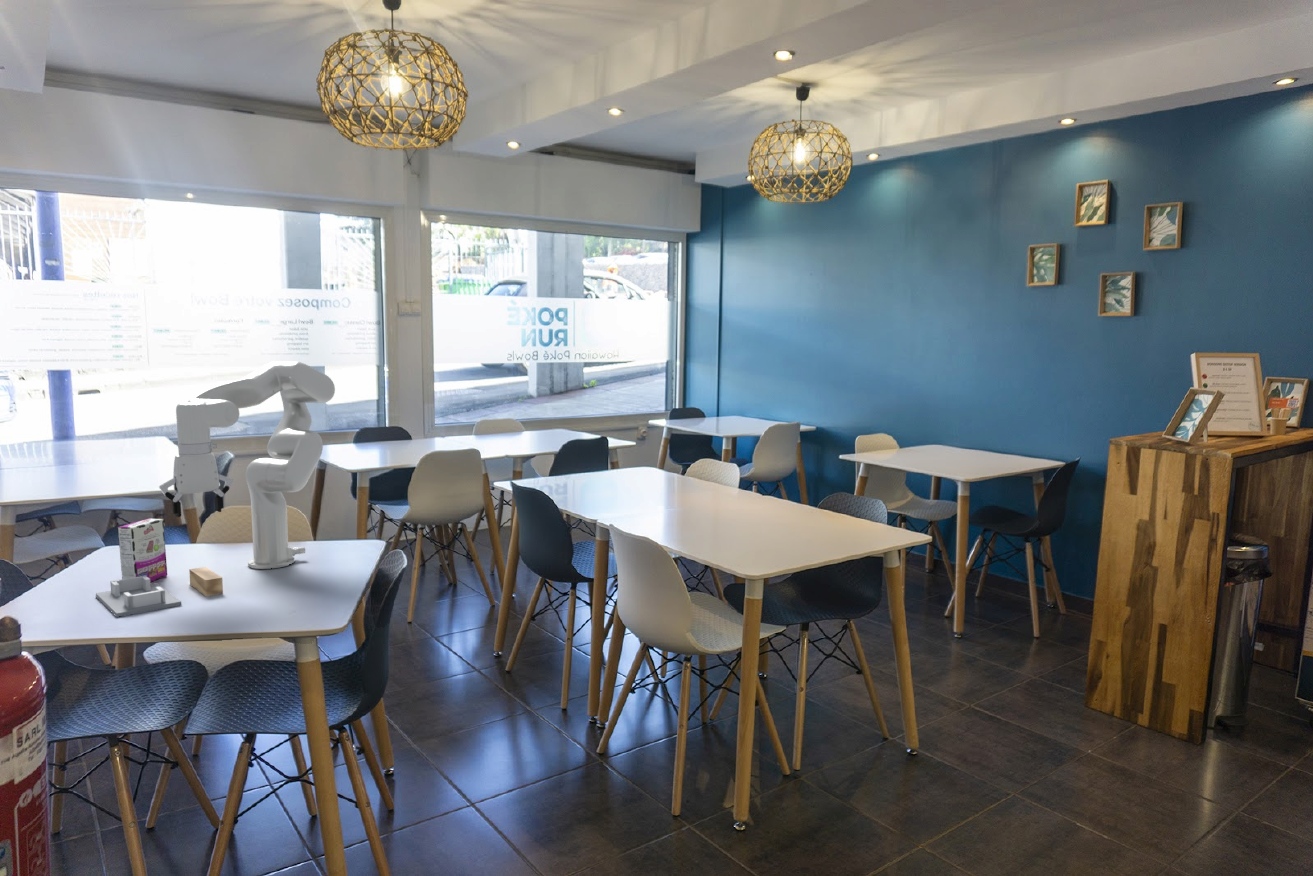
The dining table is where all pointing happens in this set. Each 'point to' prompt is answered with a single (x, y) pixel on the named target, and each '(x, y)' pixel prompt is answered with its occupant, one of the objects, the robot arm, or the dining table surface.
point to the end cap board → (136, 596)
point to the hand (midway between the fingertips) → (198, 513)
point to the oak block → (206, 581)
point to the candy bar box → (143, 549)
